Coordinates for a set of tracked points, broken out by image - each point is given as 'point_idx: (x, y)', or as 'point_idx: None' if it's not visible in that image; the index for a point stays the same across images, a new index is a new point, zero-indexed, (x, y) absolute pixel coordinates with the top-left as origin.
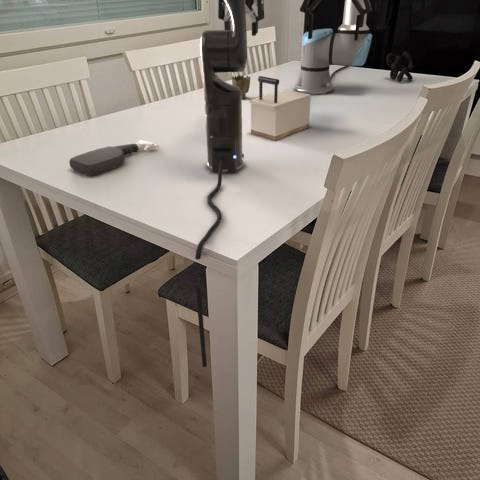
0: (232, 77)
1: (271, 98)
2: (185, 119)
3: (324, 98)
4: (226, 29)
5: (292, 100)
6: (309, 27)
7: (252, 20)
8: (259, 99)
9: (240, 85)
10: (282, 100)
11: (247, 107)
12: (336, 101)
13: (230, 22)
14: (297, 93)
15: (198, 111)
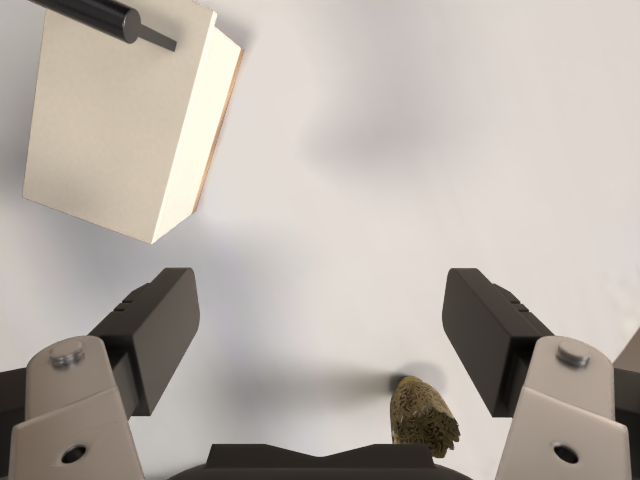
0: (458, 434)
1: (136, 80)
2: (518, 123)
3: (180, 440)
4: (490, 286)
5: (37, 76)
6: None
7: (98, 348)
8: (175, 41)
9: (414, 397)
10: (75, 61)
11: (358, 306)
12: (138, 424)
13: (487, 399)
14: (78, 198)
15: (501, 222)
